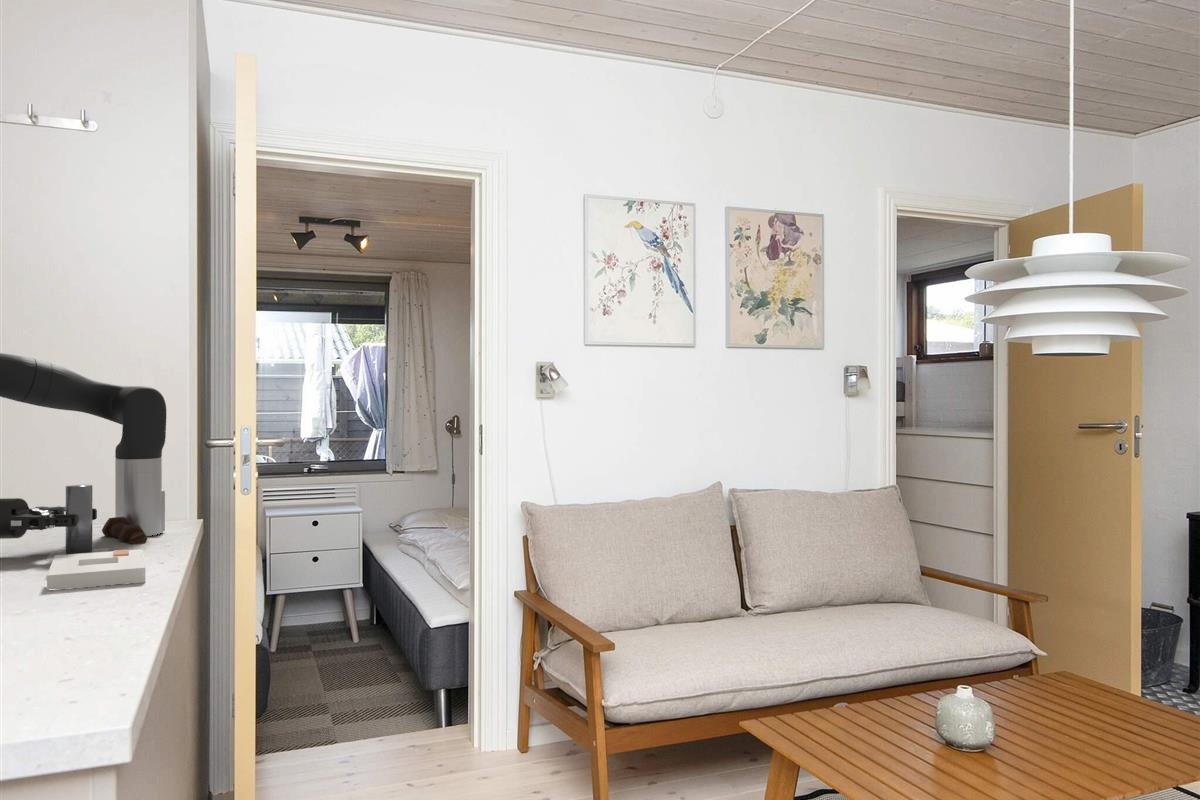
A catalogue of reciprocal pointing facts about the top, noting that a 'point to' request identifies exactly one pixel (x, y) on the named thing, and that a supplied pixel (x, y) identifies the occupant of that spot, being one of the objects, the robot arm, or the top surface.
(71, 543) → the cylinder
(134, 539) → the bolt
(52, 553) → the mat
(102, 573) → the plate
